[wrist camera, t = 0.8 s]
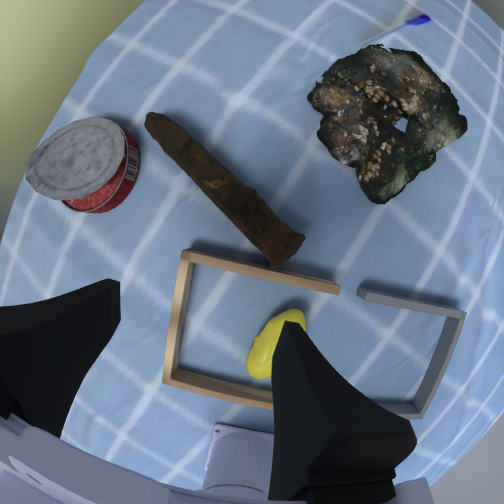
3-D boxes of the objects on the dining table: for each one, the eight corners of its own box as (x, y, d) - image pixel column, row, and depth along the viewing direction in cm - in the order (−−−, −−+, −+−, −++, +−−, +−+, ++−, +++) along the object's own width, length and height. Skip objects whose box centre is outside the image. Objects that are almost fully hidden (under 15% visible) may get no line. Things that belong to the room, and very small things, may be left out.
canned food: (92, 163, 31) (47, 115, 22) (157, 140, 30) (115, 77, 21) (70, 242, 27) (6, 197, 18) (141, 226, 25) (74, 162, 16)
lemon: (235, 356, 27) (231, 374, 23) (283, 294, 27) (286, 305, 23) (268, 377, 27) (269, 397, 23) (317, 318, 27) (325, 332, 23)
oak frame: (296, 400, 27) (298, 413, 25) (169, 371, 28) (161, 382, 25) (333, 281, 26) (340, 286, 24) (189, 248, 27) (182, 250, 24)
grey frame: (413, 408, 27) (421, 418, 24) (318, 403, 27) (322, 416, 25) (454, 307, 26) (466, 312, 23) (358, 286, 26) (366, 291, 24)
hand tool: (304, 240, 26) (312, 242, 22) (272, 269, 27) (274, 276, 22) (177, 105, 26) (162, 86, 21) (148, 131, 26) (129, 116, 22)
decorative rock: (415, 229, 22) (277, 119, 21) (386, 224, 28) (273, 136, 27) (481, 94, 19) (377, 2, 18) (453, 106, 25) (360, 28, 24)
